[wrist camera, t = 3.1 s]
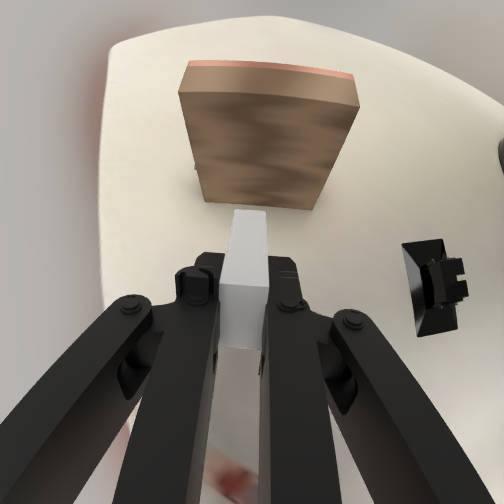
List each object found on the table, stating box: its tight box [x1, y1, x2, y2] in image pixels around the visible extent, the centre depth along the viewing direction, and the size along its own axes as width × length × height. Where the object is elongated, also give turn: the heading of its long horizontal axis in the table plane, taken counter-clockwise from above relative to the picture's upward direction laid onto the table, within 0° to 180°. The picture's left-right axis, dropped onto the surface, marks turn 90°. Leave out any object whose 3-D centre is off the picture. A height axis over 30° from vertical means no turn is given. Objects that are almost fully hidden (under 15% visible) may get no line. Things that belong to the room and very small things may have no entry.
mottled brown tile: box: [178, 60, 360, 210], centre depth 22 cm, size 10×3×14 cm, turn 86°
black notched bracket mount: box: [402, 239, 469, 337], centre depth 24 cm, size 12×7×5 cm, turn 5°
